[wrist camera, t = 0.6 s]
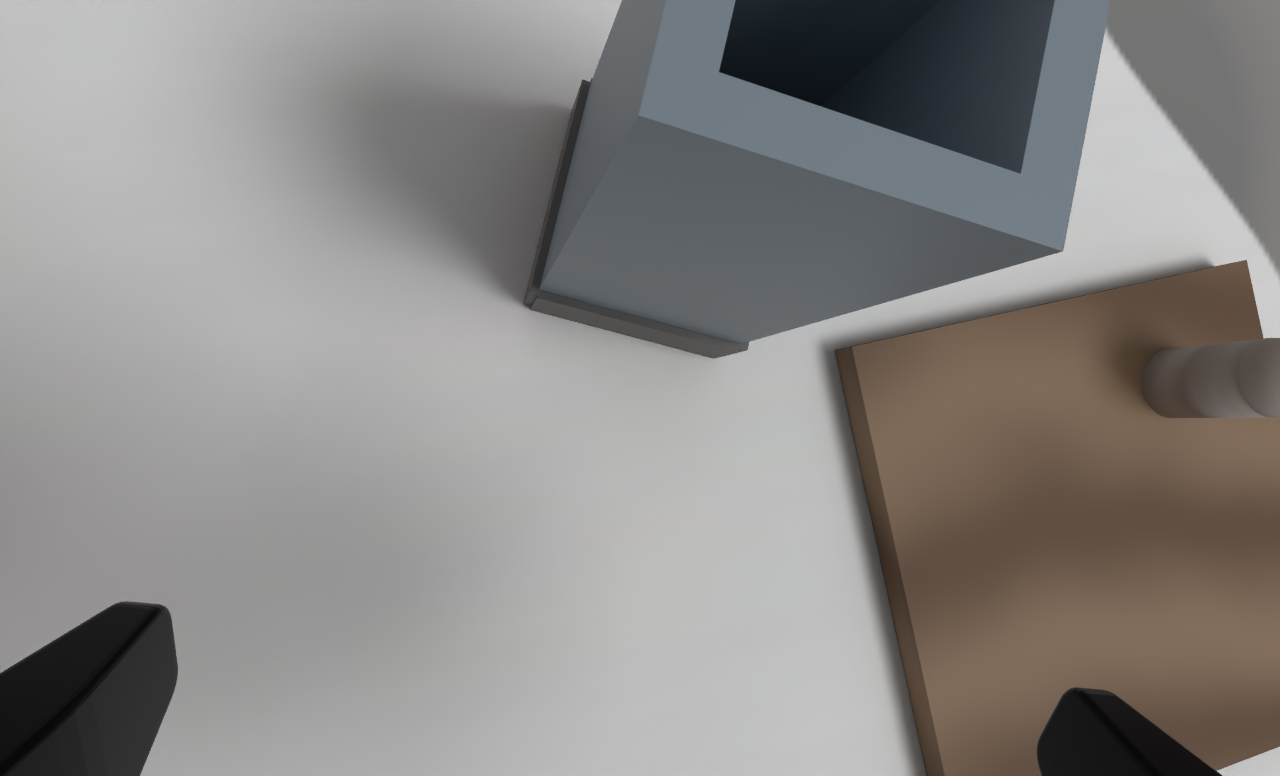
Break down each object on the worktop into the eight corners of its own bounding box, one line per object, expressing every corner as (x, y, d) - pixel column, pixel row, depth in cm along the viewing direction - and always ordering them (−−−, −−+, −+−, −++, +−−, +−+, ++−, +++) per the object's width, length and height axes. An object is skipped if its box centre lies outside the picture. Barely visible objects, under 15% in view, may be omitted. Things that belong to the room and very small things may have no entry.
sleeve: (721, 360, 22) (1074, 273, 9) (522, 307, 21) (614, 128, 8) (764, 168, 22) (1156, -164, 10) (572, 107, 21) (732, -354, 9)
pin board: (1312, 709, 26) (1513, 777, 21) (942, 847, 23) (1074, 963, 18) (1216, 266, 25) (1395, 228, 21) (834, 350, 23) (937, 329, 18)
